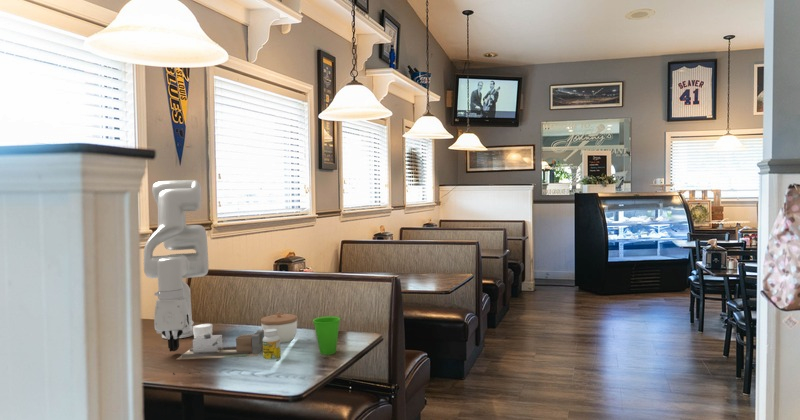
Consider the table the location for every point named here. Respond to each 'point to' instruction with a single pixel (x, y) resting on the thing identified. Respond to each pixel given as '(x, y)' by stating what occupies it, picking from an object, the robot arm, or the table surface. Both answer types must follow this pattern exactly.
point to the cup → (327, 334)
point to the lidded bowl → (281, 325)
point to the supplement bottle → (271, 344)
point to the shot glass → (202, 329)
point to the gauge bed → (230, 350)
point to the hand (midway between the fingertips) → (173, 350)
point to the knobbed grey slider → (207, 344)
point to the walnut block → (244, 343)
